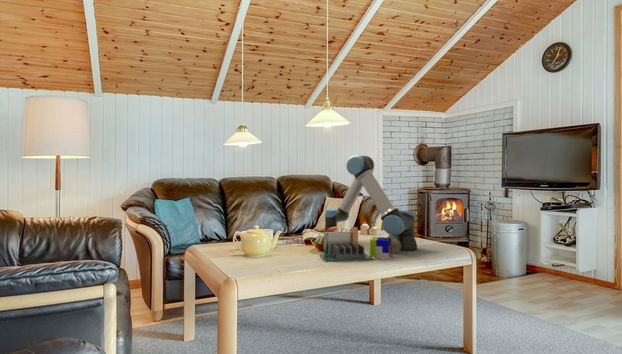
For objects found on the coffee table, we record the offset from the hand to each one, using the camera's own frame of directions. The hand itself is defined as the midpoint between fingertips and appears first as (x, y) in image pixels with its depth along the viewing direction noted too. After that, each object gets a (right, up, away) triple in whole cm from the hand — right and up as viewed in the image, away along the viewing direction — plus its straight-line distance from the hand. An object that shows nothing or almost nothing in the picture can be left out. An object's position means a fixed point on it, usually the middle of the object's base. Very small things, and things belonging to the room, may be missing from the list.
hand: (344, 242), depth 234 cm
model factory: (0, -7, -7) cm, 10 cm away
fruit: (+29, -7, +8) cm, 31 cm away
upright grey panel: (-2, -6, -1) cm, 6 cm away
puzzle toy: (+20, -7, -3) cm, 21 cm away
